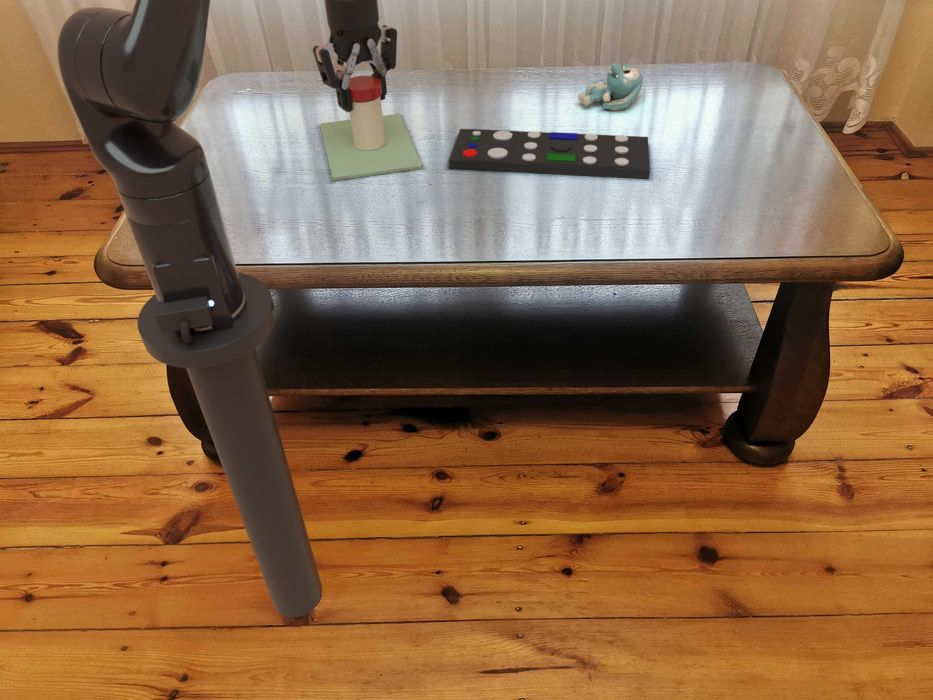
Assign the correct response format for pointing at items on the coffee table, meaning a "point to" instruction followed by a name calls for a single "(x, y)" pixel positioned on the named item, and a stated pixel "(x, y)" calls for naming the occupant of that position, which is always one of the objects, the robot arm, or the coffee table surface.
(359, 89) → the red lid
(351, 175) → the felt mat
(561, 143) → the remote control
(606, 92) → the stuffed animal
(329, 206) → the coffee table surface
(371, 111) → the beige jar
